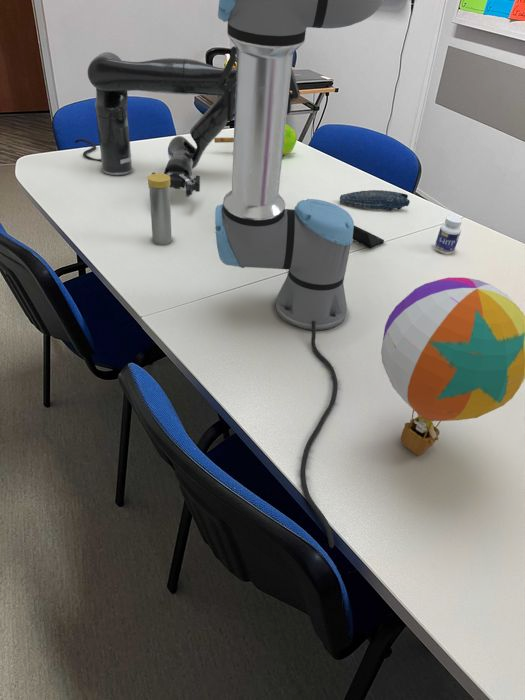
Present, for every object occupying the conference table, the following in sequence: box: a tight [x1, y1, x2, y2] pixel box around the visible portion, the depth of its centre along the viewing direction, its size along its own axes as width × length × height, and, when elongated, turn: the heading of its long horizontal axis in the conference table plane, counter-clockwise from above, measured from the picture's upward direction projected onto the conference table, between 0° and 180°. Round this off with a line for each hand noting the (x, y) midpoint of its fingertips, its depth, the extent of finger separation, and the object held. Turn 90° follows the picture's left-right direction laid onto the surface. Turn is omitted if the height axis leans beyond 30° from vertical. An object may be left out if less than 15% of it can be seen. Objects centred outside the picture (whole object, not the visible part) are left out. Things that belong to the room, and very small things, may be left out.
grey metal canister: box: [148, 186, 173, 246], centre depth 128 cm, size 5×5×16 cm
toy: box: [380, 277, 525, 456], centre depth 75 cm, size 20×20×30 cm
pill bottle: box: [434, 215, 463, 255], centre depth 137 cm, size 5×5×9 cm
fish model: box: [339, 189, 411, 211], centre depth 158 cm, size 7×21×5 cm, turn 84°
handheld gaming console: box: [353, 224, 385, 250], centre depth 139 cm, size 12×7×10 cm
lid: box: [147, 172, 170, 188], centre depth 123 cm, size 5×5×2 cm
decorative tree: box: [213, 123, 298, 156], centre depth 186 cm, size 18×10×30 cm
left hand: (171, 192), depth 141 cm, fingers open, 8 cm apart
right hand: (256, 123), depth 131 cm, fingers open, 13 cm apart
